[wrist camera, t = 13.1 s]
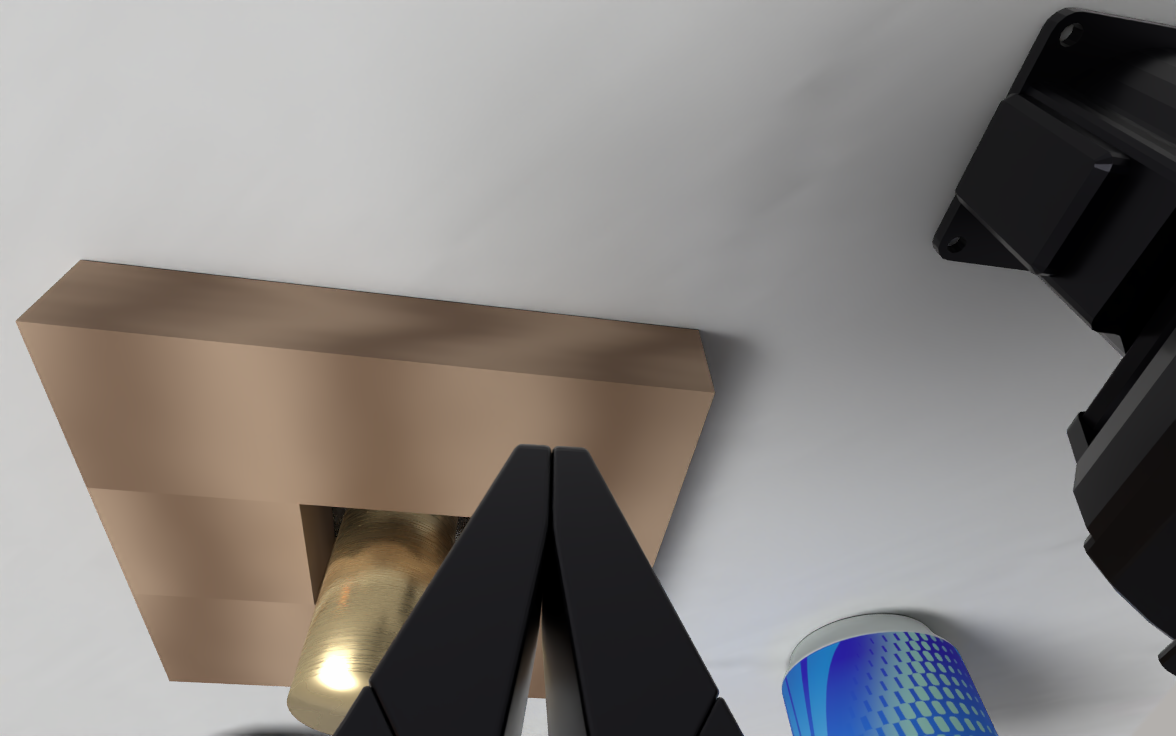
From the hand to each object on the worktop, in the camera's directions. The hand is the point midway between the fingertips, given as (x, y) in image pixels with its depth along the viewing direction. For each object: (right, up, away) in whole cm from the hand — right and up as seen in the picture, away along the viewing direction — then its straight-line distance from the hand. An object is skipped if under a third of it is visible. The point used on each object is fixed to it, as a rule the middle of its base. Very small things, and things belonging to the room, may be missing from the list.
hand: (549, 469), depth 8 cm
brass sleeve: (-6, -4, +18) cm, 19 cm away
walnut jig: (-6, -4, +18) cm, 19 cm away
